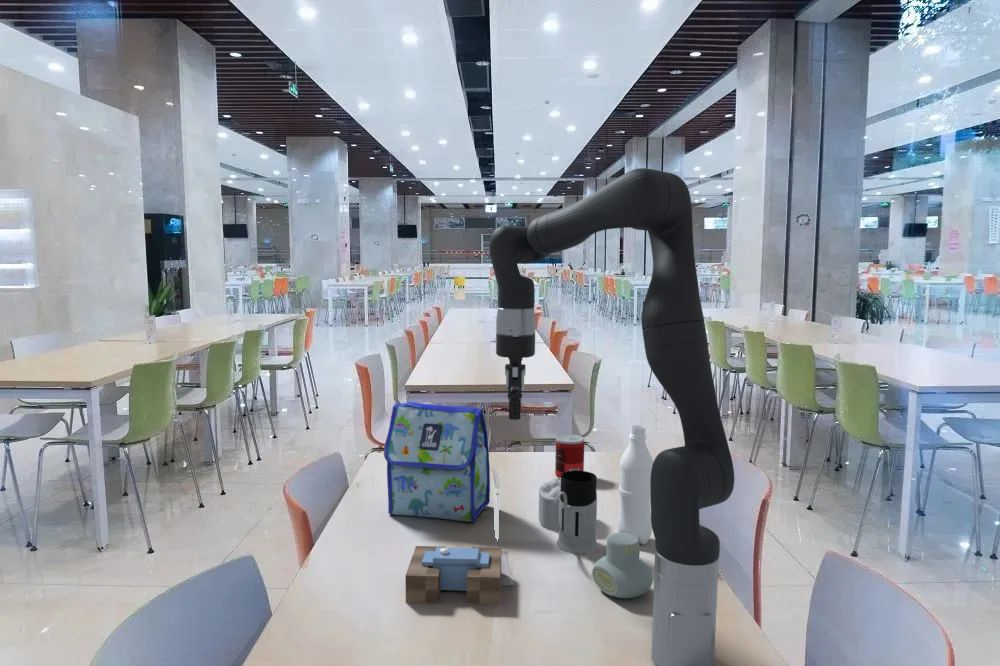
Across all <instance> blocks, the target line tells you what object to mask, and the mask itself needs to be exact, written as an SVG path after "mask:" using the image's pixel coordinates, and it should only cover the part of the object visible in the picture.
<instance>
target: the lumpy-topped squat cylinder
mask: <svg viewBox="0 0 1000 666" xmlns="http://www.w3.org/2000/svg"><path fill="white" fill-rule="evenodd" d="M560 490H561V480H560V479H558V478H552V479H551V480H550V481H546V482H544V483H541V485H540V486H539V488H538V521H539V525H540V527H542V528H543V529H545V528H546V529H545V530H548V529H549V530H548V531H559V530H558V529H557V527H556V523H555V519H554V501H555V498H556V496H557V494H558V493H559V492H560ZM559 498H560V497H559ZM557 515H558V521H559V499H558V505H557Z"/></svg>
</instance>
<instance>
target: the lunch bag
mask: <svg viewBox="0 0 1000 666" xmlns="http://www.w3.org/2000/svg"><path fill="white" fill-rule="evenodd" d="M487 431H488V430H487V425H486V418H485V415H484V409H483V408H481V407H480V408H479V407H476V406H475V407H474V406H468V405H465V406H464V405H463V406H461V405H460V406H458V405H457V406H455V405H444V404H433V403H432V404H431V403H421V402H415V401H407V402H402V403H399V402H396V403H394V405H392V411H391V415H390V421H389V427H388V431H387V436H386V439H385V442H384V448H383V457H384V459H385V460H386V477H387V479H386V481H387V483H386V484H387V498H388V500H387V502H388V515H395V516H409V517H411V516H414V517H416V516H417V517H421V518H435V519H444V520H453V521H457V522H458V521H459V522H467V523H468V522H469V523H470V522H471V523H476V521H477V517H478V516H479V514H480V513H481V512H482V511H483V509H484V508H486V507H487V506H489V503H490V501H491V500H490V495H491V494H490V493H491V492H490V491H491V480H490V479H491V478H490V475H491V474H490V473H491V472H490V471H491V470H490V469H491V468H490V457H489V456H490V452H489V441H488V440H489V439H488V432H487Z"/></svg>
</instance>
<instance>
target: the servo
mask: <svg viewBox="0 0 1000 666" xmlns="http://www.w3.org/2000/svg"><path fill="white" fill-rule="evenodd" d="M444 547H445V546H443V547H436V550H435V551H425V554H424V557H423V560H422V566H433V568H440V591H463V592H464V591H465V592H467V573H468V569H479V567H488V565H489V557H490V553H480V552H479V548H472V547H469V548H468V547H446V548H444Z"/></svg>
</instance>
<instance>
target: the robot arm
mask: <svg viewBox="0 0 1000 666" xmlns="http://www.w3.org/2000/svg"><path fill="white" fill-rule="evenodd" d="M693 227H694V226H693V207H692V199H691V194H690V190H689V187H688V185H687V184H686V182H685V180H683V179H682V178H681V176H679V175H677V174H674V173H673V172H672V173H671V172H666V171H662V170H658V169H653V168H649V167H647V168H645V167H642V168H641V167H640V168H639V167H638V168H635V169H631V170H629V171H628V172H625V173H624V174H622V175H620V176H619V177H617V178H615V179H614V180H612V181H611V182H609V183H608V184H606V185H605V186H603V187H601V188H599V189H598V190H596V191H594V192H593V193H591V194H590V195H588V196H586V197H584V198H582V199H580V200H578V201H576V202H573V203H572V204H570V205H567V206H565V207H564V206H563V207H562V208H559V209H556V210H554V211H551V212H548V213H545V214H542V215H541V216H539V217H536V218H534V219H533V220H532V221H530V224H529V225H528V226H517V225H501V226H498V227H497V228H496V229H495V230H494V231H493V232H492V233H491V236H490V239H489V245H488V248H489V249H488V251H489V257H490V261H491V264H492V268H493V272H494V276H495V281H496V285H497V312H496V318H495V319H496V321H495V324H496V325H495V326H496V327H495V331H496V332H495V354H496V355H497V356H498V357H500V358H508V361H509V362H508V363H505V367H504V375H505V388H506V390H507V399H508V419H509V420H512V421H514V420H515V421H516V420H517V421H518V420H520V419H521V413H522V412H521V410H522V409H521V407H522V405H521V404H522V399H523V393H522V391H523V390H524V389H525V376H526V367H527V366H526V364H522V361H523V358H525V359H527V358H531V357H534V356H535V355H536V314H535V289H536V288H535V283H534V280H533V279H532V278H530V277H528V276H524V275H523V274H522V273H521V272H520V269H519V265H521V264H525V265H526V264H532V263H536V262H540V261H542V260H544V259H546V258H547V257H549V256H550V255H551V254H555V253H559V252H562V251H566V250H569V249H571V248H575V247H576V246H579V245H581V244H582V243H584V242H585V241H586V240H587V239H589V238H590V237H591V236H593V235H595V234H596V233H599V232H602V231H607V230H614V229H627V228H631V229H633V230H638V231H645V232H646V231H647V234H648V236H649V237H648V238H649V242H650V247H651V254H652V256H651V257H652V274H651V278H650V282H649V286H648V288H647V291H646V294H645V299H644V301H643V305H642V311H641V316H640V317H641V318H640V319H641V330H642V337H643V338H642V339H643V346H644V352H645V356H646V361H647V363H648V366H649V368H650V369H651V371H652V373H653V375H654V376H655V377H656V379H657V381H658V383H660V385H661V386H662V388H663V390H664V391H665V393H667V394H668V396H669V398H670V399H671V401H672V403H673V404H674V406H675V409H677V413H678V416H679V419H680V422H681V427H682V433H683V440H684V445H682V446H678V447H672V448H668V449H667V448H666V449H664V450H662V451H661V452H659V453H658V454H657V455H656V457H655V458H654V460H653V465H652V470H651V479H650V492H651V506H650V513H651V525H652V533H653V537H654V541H655V543H654V544H655V545H654V547H655V548H654V549H655V550H654V566H653V567H654V568H653V569H654V570H653V598H652V621H651V622H652V623H651V654H652V655H651V656H652V657H651V659H652V661H653V662H655V663H656V664H657V665H658V666H715V652H716V630H717V629H716V628H717V608H718V589H719V588H718V586H719V585H718V584H719V570H720V569H719V567H720V565H719V564H720V554H721V553H720V550H721V549H720V546H721V543H720V538H719V537H718V534H716V532H715V531H714V530H711V529H710V528H708V527H706V526H705V525H704V526H703V525H700V509H701V510H702V509H704V508H709V507H712V506H717V505H720V504H722V503H724V502H726V501H727V500H728V499H729V498H730V497H731V496H732V493H733V492H734V487H735V470H734V465H733V464H734V463H733V458H732V454H731V450H730V447H729V443H728V439H727V436H726V432H725V428H724V425H723V421H722V417H721V413H720V409H719V408H720V407H719V404H718V398H717V393H716V388H715V383H714V377H713V372H712V365H711V360H710V359H711V358H710V352H709V342H708V336H707V331H706V329H707V328H706V324H705V316H704V312H703V308H702V307H703V306H702V301H701V294H700V287H699V281H698V273H697V268H696V267H697V266H696V258H695V249H694V228H693ZM518 264H519V265H518ZM655 663H654V664H655ZM656 664H655V665H656ZM657 665H656V666H657Z"/></svg>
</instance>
